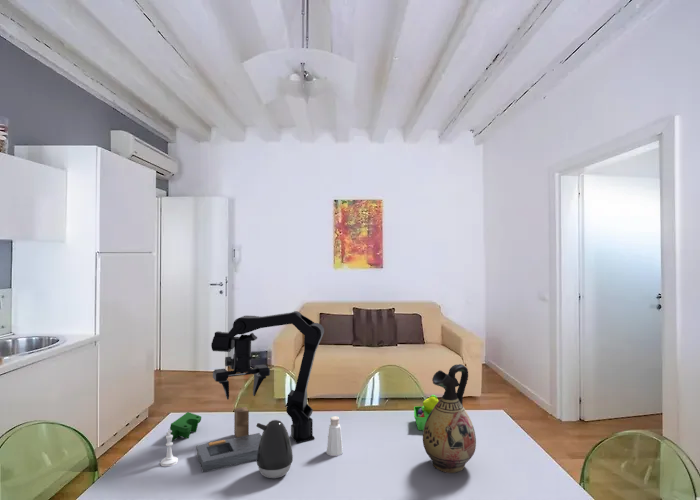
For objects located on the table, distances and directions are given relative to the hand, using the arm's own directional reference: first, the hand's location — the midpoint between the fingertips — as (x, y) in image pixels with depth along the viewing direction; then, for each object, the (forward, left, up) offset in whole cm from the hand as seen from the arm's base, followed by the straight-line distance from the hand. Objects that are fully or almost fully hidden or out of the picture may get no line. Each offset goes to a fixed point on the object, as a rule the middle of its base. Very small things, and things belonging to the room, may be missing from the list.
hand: (241, 397), depth 147 cm
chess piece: (+24, +9, -14) cm, 29 cm away
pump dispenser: (-2, +30, -14) cm, 33 cm away
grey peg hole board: (+6, +14, -13) cm, 20 cm away
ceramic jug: (-50, +51, -14) cm, 73 cm away
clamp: (+17, -10, -14) cm, 24 cm away
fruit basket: (-62, +24, -14) cm, 68 cm away
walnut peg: (0, 0, -13) cm, 13 cm away
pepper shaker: (-23, +27, -14) cm, 38 cm away
